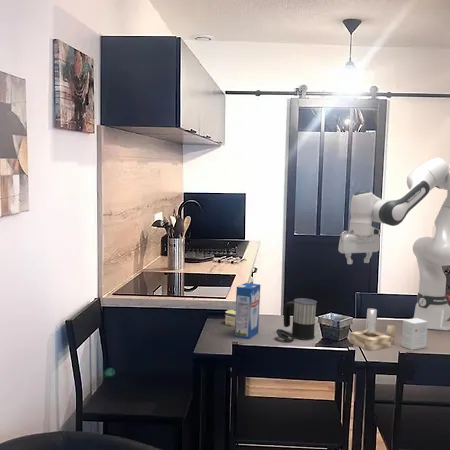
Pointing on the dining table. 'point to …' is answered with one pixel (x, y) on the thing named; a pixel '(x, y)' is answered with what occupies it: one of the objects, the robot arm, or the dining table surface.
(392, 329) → the beech stub
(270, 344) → the dining table surface
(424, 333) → the small box
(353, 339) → the oak collar block
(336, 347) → the dining table surface
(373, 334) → the steel pin
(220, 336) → the dining table surface
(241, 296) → the milk carton
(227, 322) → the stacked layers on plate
